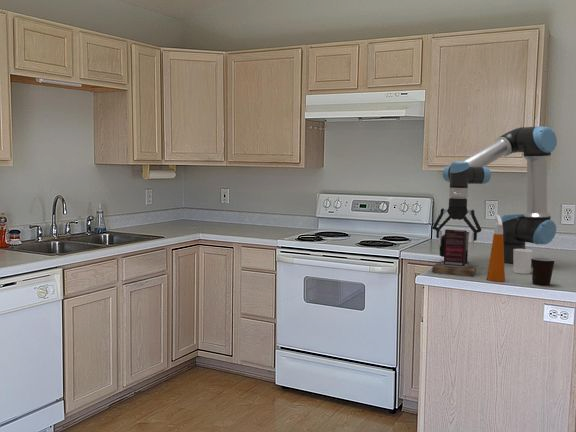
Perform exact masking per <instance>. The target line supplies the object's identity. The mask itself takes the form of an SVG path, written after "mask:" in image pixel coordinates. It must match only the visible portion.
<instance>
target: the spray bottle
mask: <svg viewBox="0 0 576 432" xmlns="http://www.w3.org/2000/svg"><path fill="white" fill-rule="evenodd" d="M505 274H506V272H505V262H504V244H503V225H502V217H501V216H500V214H495V226H494V229H493V237H492V243H491V250H490V258H489V261H488V268H487V274H486V280H488V281H490V282H491V281H492V282H497V281H499V282H500V281H501V282H505V281H506V275H505Z"/></svg>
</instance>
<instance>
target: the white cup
mask: <svg viewBox="0 0 576 432" xmlns="http://www.w3.org/2000/svg"><path fill="white" fill-rule="evenodd" d="M533 253H534V252H533V250H532V249H527V248H526V249H513V263H512V264H513V273H516V274H521V275H529V274H531V270H532V265H531V258H533Z"/></svg>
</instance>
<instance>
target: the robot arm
mask: <svg viewBox="0 0 576 432" xmlns="http://www.w3.org/2000/svg"><path fill="white" fill-rule="evenodd" d="M557 141H558V140H557V136H556V133H555V131H553V129H552V128H551V127H548V126H542V125H541V126H540V125H539V126H526V127H525V126H524V127H523V126H521V127H517V128H514V129H512V130H509V131H508V132H505V133H504V134H502V135H500V136H498V137H497V138H496V139H495V141H494V142H493V143H491V144H489V145H487V146H486V147H484V148H482V149H481V150H478V151H477V152H476V153H473V154H472V155H469V156H468V157H467V158H465V159H463V160H462V161H452V162H451V163H450V165H447V166H445V167H444V168H443V170H442V177H443V180H444V181H445V182H446V183H447V182H448V183H449V190H448V191H449V192H448V197H449V198H448V208H444V207H442V208H441V209H440V213H439V215H438V217H437V218H436V220H435V222H434V224H433V225H432V230H435V231H436V236H435V237H436V239H438V247H440V246H441V236H442V235H443V233H442V230H441V229H442V228H443V227H444V226H445V225H446V224H447V223H448V222H449V221H450V220H451V219H452V220H458V221H459V220H460V221H461V220H463V221H464V222H465V224H467V226H468V227H469V228H470V230H471V231H472V233H471V240H470V241H471V244H470V249H474V247H475V246H474V245H475V241H477V239H478V233H481V232H482V231H483V230H482V228H481V225H480V223H479V221H478V219H477V217H476V215H475V210H474V209H468V190H469V188H468V187H469V184H470V185H482V184H487V183H488V182H489V181H490V180H491V176H492V175H491V174H492V173H491V169H489V167H488V166H489V165H490V164H491V163H493V162H495V161H497V160H498V159H501V158H502V157H507V156H510V155H512V154H514V153H515V154H516V153H523V158H524V159H525V160H526V212H525V213H523V214H521V213H519V214H518V213H517V214H505V215H504V214H503V215H502V217H501V220H502V225H503V244H504V264H513V249H527V248H526V243H530V244H535V245H548V244H550V243H551V242H552V241H553V239H554V238H555V236H556V233H557V225H556V223H555V221H554V220H552V219H551V217H552V215H551V214H550V213H549V212H548V159H549V158H550V157H551V156H552V152H553V151H555V149H556V147H557V143H558V142H557ZM446 213H448V216H447V218H446V219H445V220H443V222H442V223H441V224H440V225H439V223H440V221H441V219H442V218H443V216H444V215H445V214H446ZM468 214H469V215H470V216H471V218H472V220H473V223H474V225H475V226H474V225H473V224H472V222H471V221H470V220H469V219H468V217H467V215H468ZM438 225H439V226H438ZM437 226H438V227H437ZM475 227H476V228H475Z"/></svg>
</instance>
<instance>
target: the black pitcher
mask: <svg viewBox="0 0 576 432" xmlns="http://www.w3.org/2000/svg"><path fill="white" fill-rule="evenodd" d="M469 236H470V231H467V232H466V257H465V264H468V263H469V262H468V258H469V257H468V256H469V255H468V254H469V239H470V237H469ZM444 242H445V233H444V234H442V235H441V246H439V256H440V257H441V258H444Z"/></svg>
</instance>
